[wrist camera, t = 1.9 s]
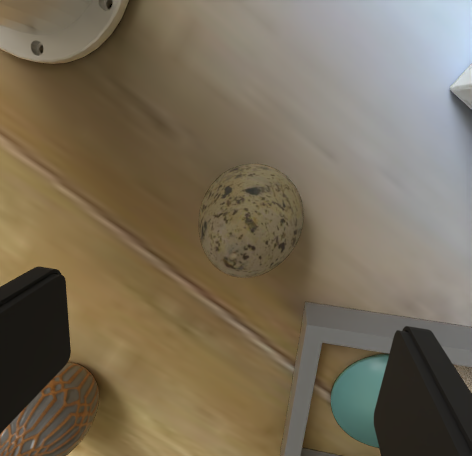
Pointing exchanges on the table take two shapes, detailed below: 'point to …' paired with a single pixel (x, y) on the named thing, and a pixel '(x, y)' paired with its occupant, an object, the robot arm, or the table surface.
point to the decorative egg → (250, 220)
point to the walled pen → (354, 367)
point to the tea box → (464, 87)
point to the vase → (54, 416)
